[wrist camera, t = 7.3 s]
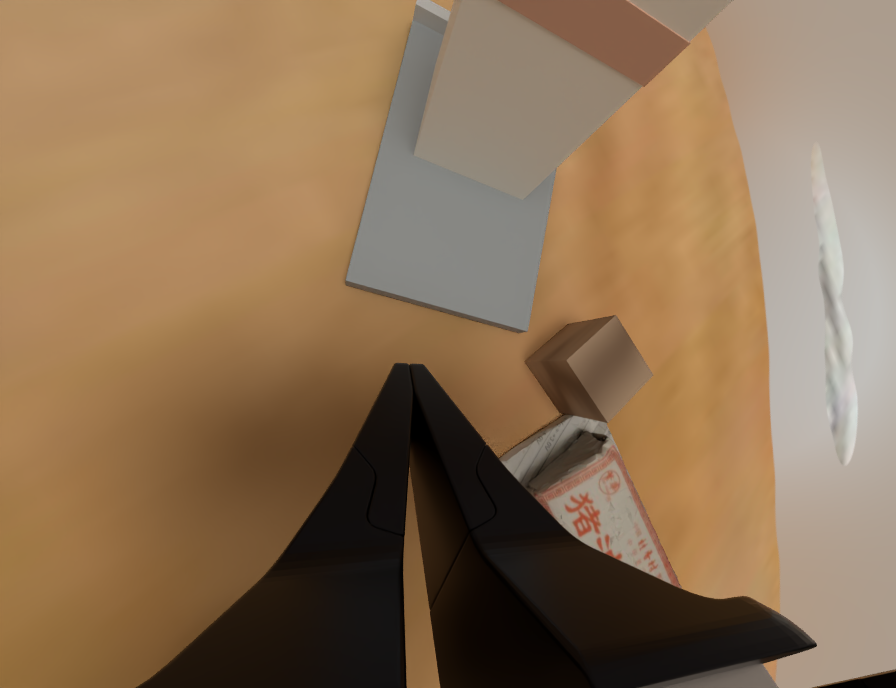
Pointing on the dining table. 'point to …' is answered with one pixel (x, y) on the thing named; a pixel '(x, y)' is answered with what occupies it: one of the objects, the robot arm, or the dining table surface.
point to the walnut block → (590, 368)
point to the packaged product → (589, 491)
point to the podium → (444, 214)
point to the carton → (543, 79)
